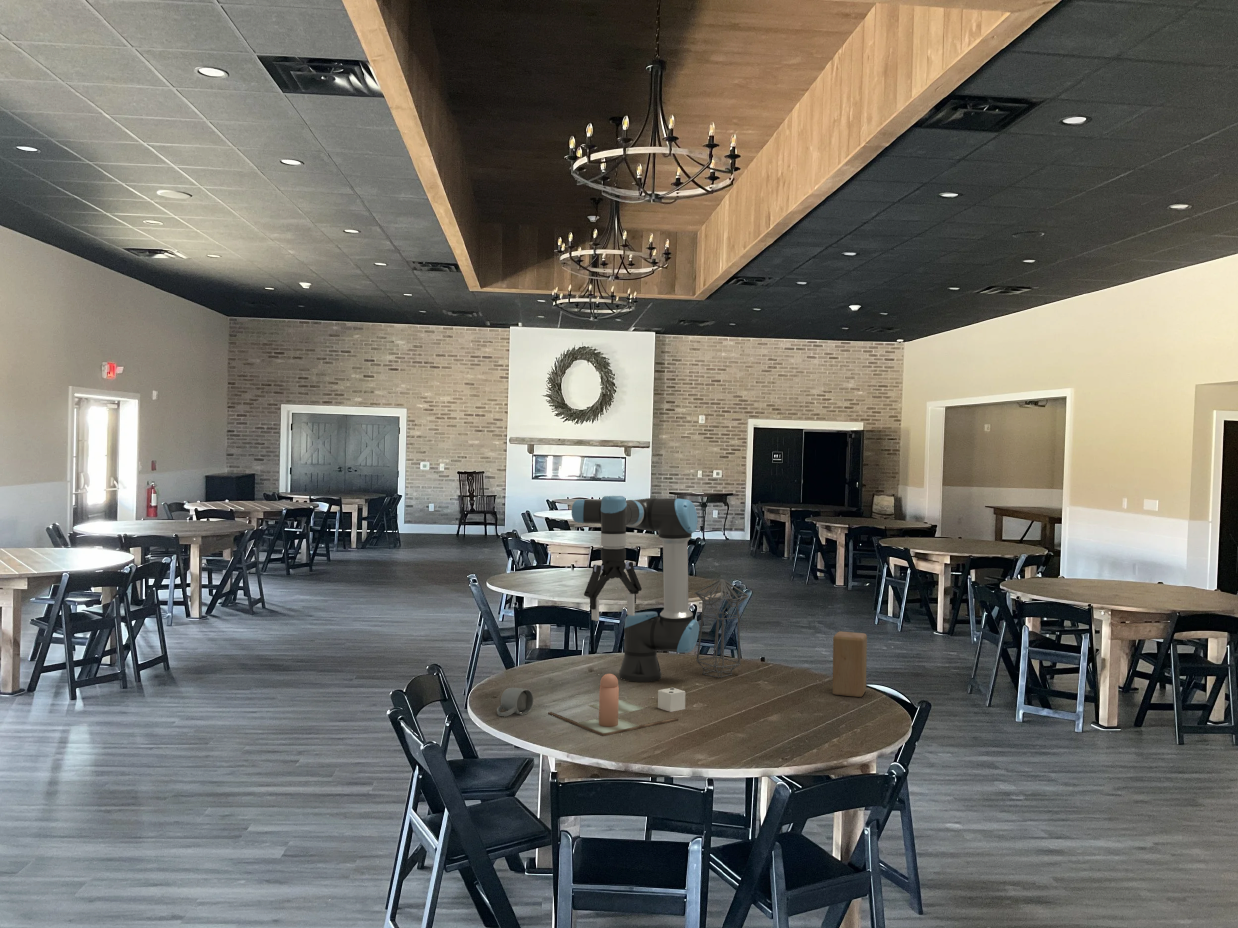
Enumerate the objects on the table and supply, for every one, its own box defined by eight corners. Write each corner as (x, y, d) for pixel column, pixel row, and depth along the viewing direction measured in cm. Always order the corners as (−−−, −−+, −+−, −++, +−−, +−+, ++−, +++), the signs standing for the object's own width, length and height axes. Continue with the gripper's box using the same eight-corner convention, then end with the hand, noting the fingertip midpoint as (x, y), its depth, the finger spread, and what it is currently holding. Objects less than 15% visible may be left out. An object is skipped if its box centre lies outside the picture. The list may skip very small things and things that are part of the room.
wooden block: (831, 694, 311) (832, 635, 311) (836, 688, 320) (837, 630, 320) (862, 698, 307) (863, 637, 307) (866, 691, 316) (867, 632, 316)
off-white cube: (672, 706, 293) (672, 687, 293) (685, 710, 288) (685, 690, 288) (657, 709, 289) (658, 689, 289) (670, 713, 284) (670, 693, 284)
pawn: (610, 720, 274) (611, 670, 274) (621, 724, 269) (622, 674, 269) (595, 723, 270) (595, 673, 270) (606, 727, 266) (607, 676, 266)
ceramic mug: (514, 707, 289) (514, 682, 289) (534, 711, 284) (534, 686, 284) (490, 715, 280) (490, 689, 280) (510, 719, 276) (510, 694, 275)
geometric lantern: (715, 668, 350) (719, 575, 350) (748, 676, 338) (752, 580, 338) (687, 673, 339) (691, 577, 339) (719, 682, 328) (723, 583, 328)
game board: (620, 700, 299) (620, 698, 299) (678, 720, 277) (678, 718, 277) (548, 713, 282) (548, 711, 282) (603, 735, 260) (603, 733, 260)
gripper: (637, 543, 290) (637, 610, 291) (572, 549, 275) (572, 620, 275) (653, 545, 284) (652, 614, 285) (587, 551, 269) (587, 624, 269)
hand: (613, 617), depth 280 cm, fingers open, 13 cm apart
